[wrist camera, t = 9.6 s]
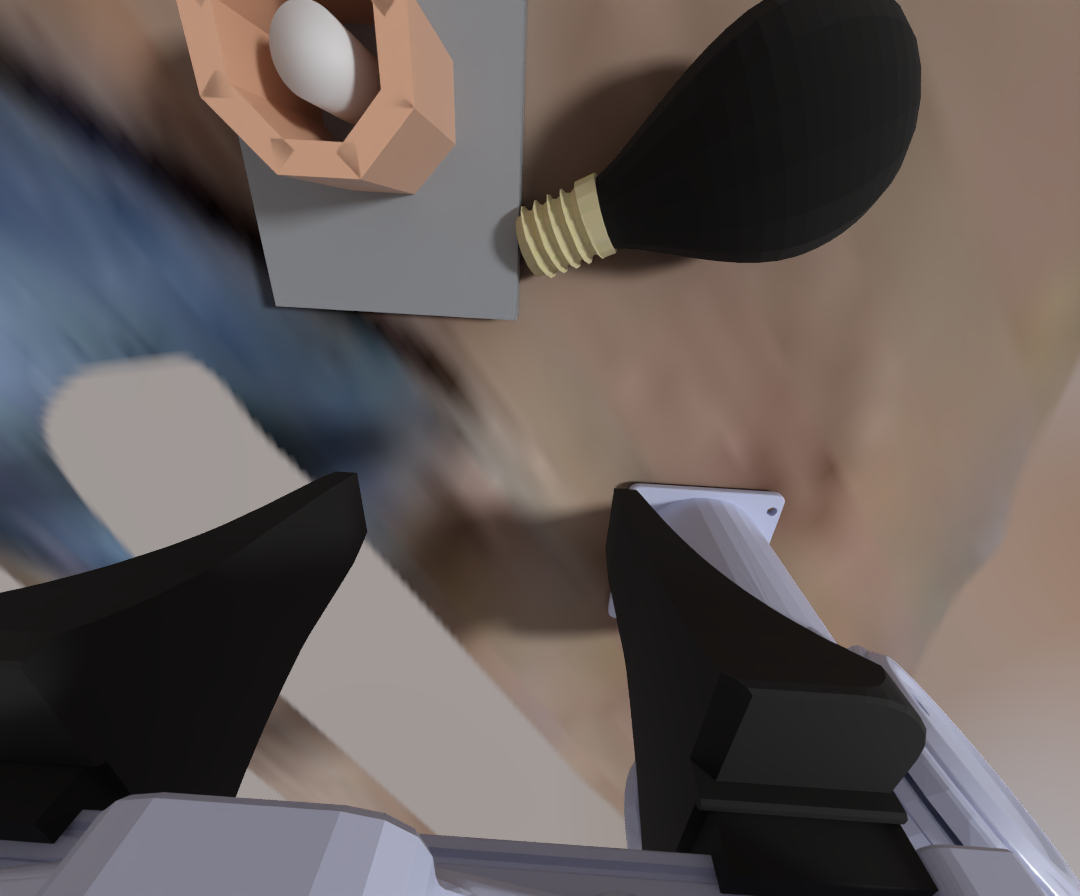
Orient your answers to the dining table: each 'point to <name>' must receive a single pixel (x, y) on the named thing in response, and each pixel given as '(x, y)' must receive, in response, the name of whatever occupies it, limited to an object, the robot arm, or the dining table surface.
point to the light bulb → (751, 144)
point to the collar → (297, 125)
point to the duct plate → (393, 218)
